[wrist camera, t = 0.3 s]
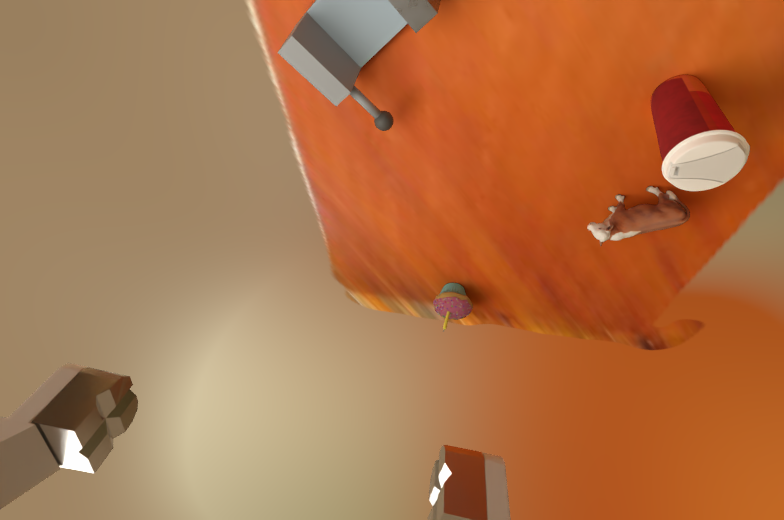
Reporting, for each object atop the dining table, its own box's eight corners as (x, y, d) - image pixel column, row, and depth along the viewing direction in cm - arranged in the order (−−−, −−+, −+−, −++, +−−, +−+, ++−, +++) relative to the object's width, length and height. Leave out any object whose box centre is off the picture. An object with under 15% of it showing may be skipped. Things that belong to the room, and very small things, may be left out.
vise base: (395, -99, 42) (382, -76, 38) (491, 32, 51) (490, 64, 46) (296, 23, 54) (277, 52, 49) (388, 114, 62) (379, 146, 58)
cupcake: (427, 285, 96) (421, 332, 89) (455, 272, 90) (450, 321, 83) (453, 302, 100) (449, 348, 93) (481, 291, 94) (479, 339, 87)
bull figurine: (582, 196, 68) (588, 234, 63) (680, 178, 62) (695, 218, 58) (585, 214, 71) (590, 252, 66) (679, 199, 65) (692, 238, 61)
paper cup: (637, 126, 57) (659, 198, 49) (644, 73, 51) (671, 144, 43) (705, 116, 54) (741, 190, 46) (721, 59, 49) (765, 131, 40)
